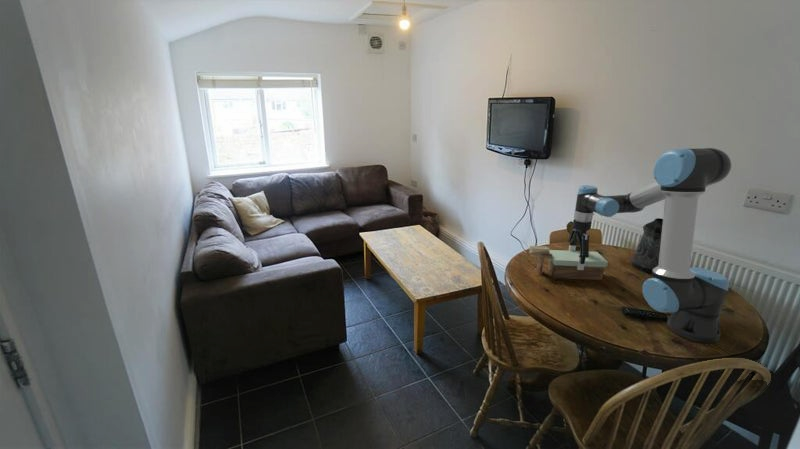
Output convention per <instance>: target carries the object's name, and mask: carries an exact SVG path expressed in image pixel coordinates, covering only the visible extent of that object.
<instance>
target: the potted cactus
mask: <svg viewBox="0 0 800 449" xmlns="http://www.w3.org/2000/svg"><path fill="white" fill-rule="evenodd" d="M572 228H573V221H572V220H571V221H569V222H568V223H567V224H566V231H567V233H569V235H570V234H571V232H572ZM569 243H570V242H568V248H567V250H566V251H569V246H570V245H569ZM576 244H577V245H574V246H576V249H575V251H580V248H579V242H578V241H577V243H576Z"/></svg>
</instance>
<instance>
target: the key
mask: <svg viewBox="0 0 800 449" xmlns="http://www.w3.org/2000/svg"><path fill="white" fill-rule="evenodd" d="M549 250H550V247H549V246H546V245H545V246H543V245H542V246H541V245H540V246H539V245H530V246H529V251H528V252H529V254H530V255H541V254H549Z"/></svg>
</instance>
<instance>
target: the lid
mask: <svg viewBox="0 0 800 449" xmlns="http://www.w3.org/2000/svg"><path fill="white" fill-rule="evenodd" d="M549 253H550V254H552V258H550V260H551V261H552V263H553V264H554V265H564V266H577V265H578V259H579V255H580V251H567V250H561V249H560V250H558V249H555V250H554V249H549ZM584 255H585V254H584ZM608 263H609V262H608V260H606V259H605V257H603V256H602V255H601V254H600V253H599V252H598V251H589V257H588V258H586V259H585V265H584V266H588V267H604V268H607V267H608Z"/></svg>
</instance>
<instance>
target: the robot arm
mask: <svg viewBox="0 0 800 449" xmlns="http://www.w3.org/2000/svg"><path fill="white" fill-rule="evenodd" d="M731 170H732V162H731V158H730V156H729V155H728V154H727V153H726V152H724V151H723V150H721V149H718V148H714V147H713V148H712V147H704V148H703V147H702V148H699V147H698V148H678V149H670V150H667V151H666V152H665V153H663V154H662V155H661V156H659V158H658V159H657V160H656V162H655V164H654V167H653V178H654V180H655V181H654V182H651V183H649V184H647V185H645V186H642V187H640V188H638V189H635V190H633V191H631V192H630V193H629V192H628V193H626V194H621V195H620V194H619V195H602V194H599V193H598V187H596V186H594V185H584V184H583V185H580V186H579V188H578V191H577V194H576V202H575V209H574V213H573V221H572V222H573V228H572V232H571V234H570V233H569V237H568V240H567V242H568V247H569V251H575V249H576V246H574V245H577V244H576V243H577V241H578V242H579V248H580V255H579V259H578V265H577V270H584V265H585V259H586V258H588V257H589V248H590V247H589V246H590V245H589V244H590V234H587V231H590V230H591V227H592V223H593V222H592V221H593V216H595V213H596V214H598V215H600V216H602V217H606V218H611V217H613V216H615V215H617V214H625V213H627V214H628V213H631V214H632V213H633V214H634V213H638V212H642V211H643V210H644V209H645V208H646V207H648V206H651V205H653V204H656V203H659V202H661V201H663V200H664V205H663V206H664V207H663V215H662V216H663V217H662V219H663V225H662V235H661V245H660V255H659V265H658V266H657V267H655V268H654V269H653V271H652V274H651V278H650V277H649V278H647V279H646V280H645V281H644V282H643V284H642V288H641V289H642V295H643V298H644V300H645V301H646V302H647V304H648V306H650V307H651V308H652V310H655V311H657V312H659V313H670V315H669V316H668V318H667V321H666V325H667V327H668V329H669V330H670V331H672V332H673V333H675V334H676V335H678V336H680V337H682V338H684V337H685V338H684V339H686V338H687V339H686V340H689V339H690V341H692V340H693V342H696V341H697V343H701V342H702V343H703V344H714V343H713V342H715V343H717V342H718V341H719V340H720V337H721V326H720V315H721V312H722V310H723V306H724V303H725V301H726V297H727V295H728V294H727V293H728V292H729V286H730V280H729V279H728V278H727V277H726V276H724V275H723V274H721V273H719V272H716V271H714V270H710V269H707V268H703V267H698V266H697V267H695V266H694V267H693V266H692V267H691V265H692V264H691V262H692V254H693V253H692V252H693V245H694V237H695V230H696V229H695V228H696V220H697V210H698V203H699V197H700V196H701V195H703V194H704V193H706V188H707V187H708V186H711V185H715V184H717V183H719V182H721V181H723V180H724V179H726V178H727V176H728V175H729V174H730V172H731ZM569 242H570V243H569ZM569 245H570V246H569ZM584 254H585V255H584ZM702 343H701V344H702Z"/></svg>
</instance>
